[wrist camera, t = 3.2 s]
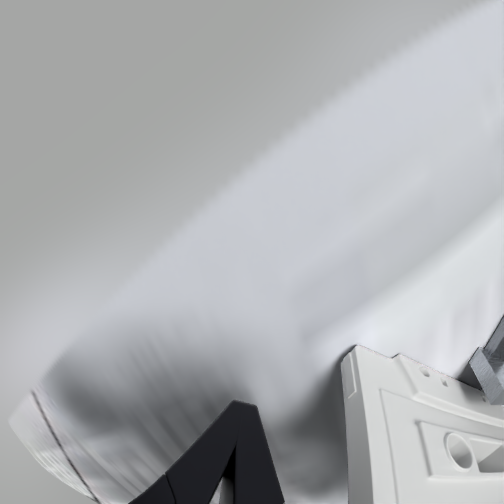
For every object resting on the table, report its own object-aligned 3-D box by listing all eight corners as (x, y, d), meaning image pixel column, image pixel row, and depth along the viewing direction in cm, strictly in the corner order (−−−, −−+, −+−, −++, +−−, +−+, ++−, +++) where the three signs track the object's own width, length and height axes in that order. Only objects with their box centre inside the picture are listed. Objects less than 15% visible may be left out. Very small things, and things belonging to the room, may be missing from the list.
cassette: (514, 401, 9) (556, 506, 2) (491, 423, 10) (523, 528, 3) (361, 330, 9) (392, 569, 2) (329, 366, 10) (326, 581, 3)
